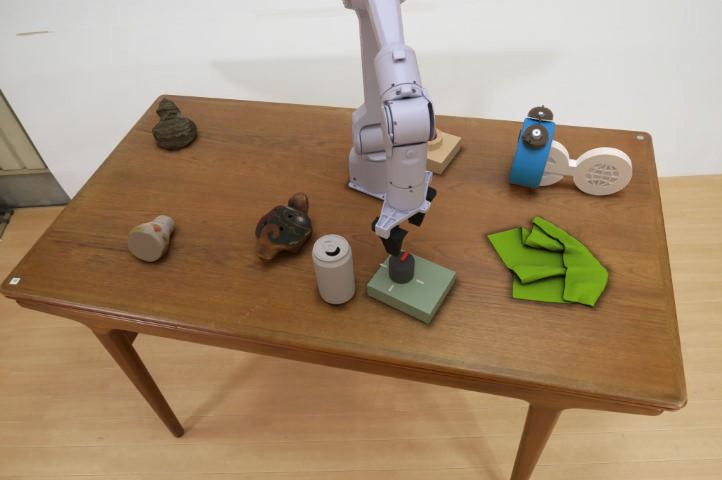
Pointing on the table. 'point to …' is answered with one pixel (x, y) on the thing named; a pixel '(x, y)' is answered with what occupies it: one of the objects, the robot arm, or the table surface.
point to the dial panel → (413, 288)
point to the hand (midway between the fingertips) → (404, 238)
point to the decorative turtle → (284, 228)
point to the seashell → (172, 126)
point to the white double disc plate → (589, 169)
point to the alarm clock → (533, 148)
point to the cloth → (550, 265)
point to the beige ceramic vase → (151, 238)
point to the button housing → (441, 151)
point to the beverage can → (334, 268)
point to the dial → (401, 267)
